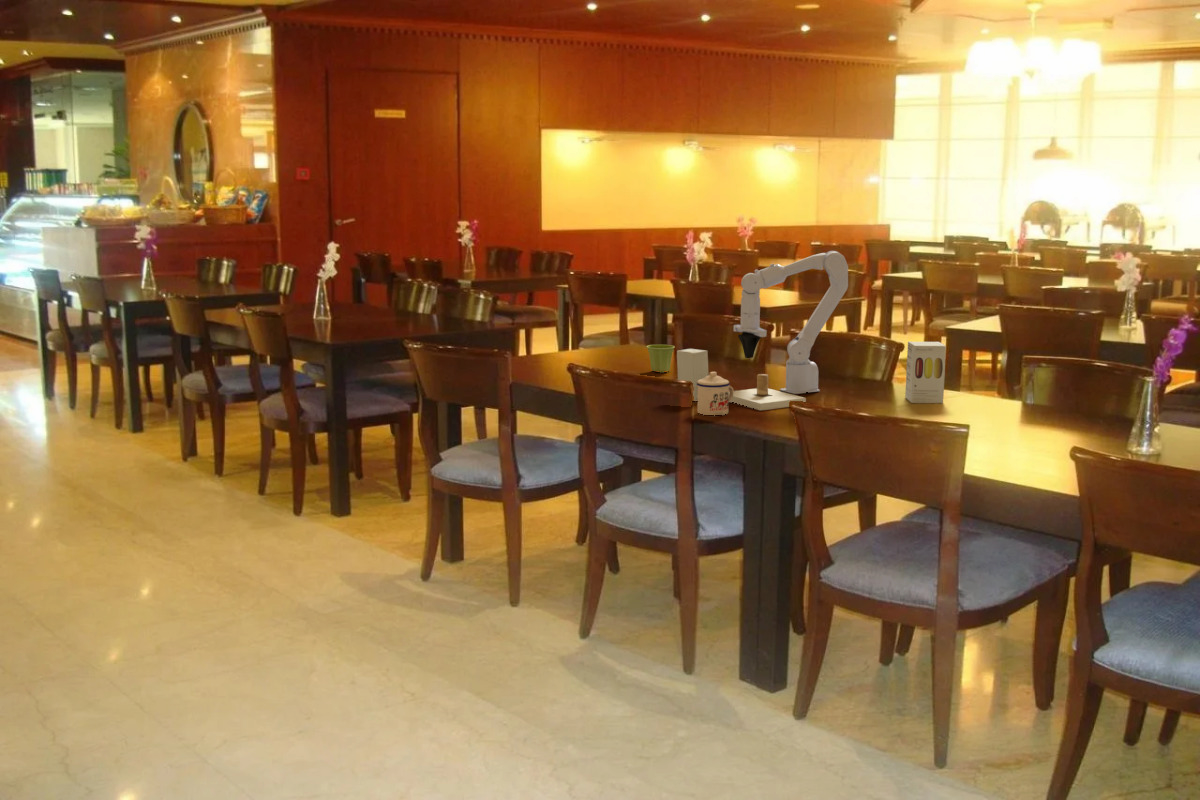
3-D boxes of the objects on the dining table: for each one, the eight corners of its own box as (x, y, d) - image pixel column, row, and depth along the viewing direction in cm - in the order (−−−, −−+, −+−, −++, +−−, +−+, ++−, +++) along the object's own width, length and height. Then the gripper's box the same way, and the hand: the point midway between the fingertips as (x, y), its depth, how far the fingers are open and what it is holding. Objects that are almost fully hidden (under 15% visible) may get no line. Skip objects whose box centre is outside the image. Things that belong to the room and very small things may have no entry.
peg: (762, 400, 354) (763, 373, 353) (770, 402, 352) (770, 375, 350) (754, 401, 353) (754, 374, 351) (761, 403, 350) (761, 376, 348)
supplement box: (910, 403, 347) (912, 345, 344) (904, 397, 356) (906, 341, 353) (944, 403, 347) (946, 345, 343) (937, 397, 356) (939, 340, 353)
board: (764, 393, 364) (764, 387, 364) (805, 404, 347) (805, 397, 347) (720, 399, 357) (720, 392, 357) (760, 410, 340) (760, 403, 339)
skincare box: (709, 400, 355) (710, 350, 353) (693, 402, 352) (693, 352, 349) (692, 396, 362) (692, 347, 360) (676, 398, 359) (676, 349, 356)
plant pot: (656, 368, 414) (656, 343, 412) (679, 371, 408) (679, 345, 407) (641, 372, 406) (641, 347, 404) (664, 375, 401) (664, 349, 399)
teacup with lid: (711, 418, 330) (711, 376, 328) (689, 413, 338) (689, 371, 335) (743, 412, 338) (744, 371, 335) (721, 407, 345) (721, 367, 343)
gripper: (725, 311, 369) (724, 355, 372) (753, 316, 357) (752, 361, 359) (744, 310, 372) (743, 353, 375) (772, 315, 360) (771, 360, 362)
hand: (749, 357), depth 367 cm, fingers closed
